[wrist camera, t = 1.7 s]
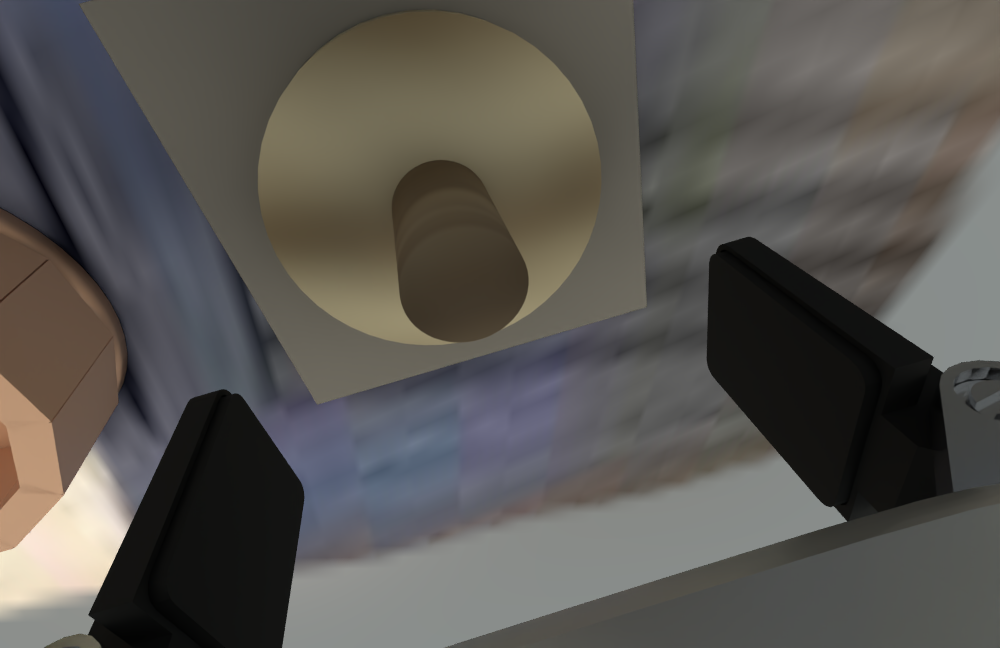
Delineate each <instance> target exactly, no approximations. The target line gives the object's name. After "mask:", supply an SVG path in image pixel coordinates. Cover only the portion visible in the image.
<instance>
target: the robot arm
mask: <svg viewBox="0 0 1000 648" xmlns="http://www.w3.org/2000/svg"><path fill="white" fill-rule="evenodd" d="M932 360H933V356H931V355H930V354H928V353H926V352H925V351H924V350H922V349H920V348H919V347H918V346H916V345H915V344H913V343H912V342H910V341H909V340H907V339H905V338H904V337H903V336H901V335H900V334H898V333H897V332H895V331H894V330H892V329H891V328H889V327H887V326H886V325H884V324H883V323H881V322H880V321H878V320H877V319H875V318H874V317H872V316H871V315H869V314H868V313H866V312H865V311H863V310H862V309H860V308H859V307H857V306H856V305H854V304H853V303H851V302H850V301H848V300H847V299H845V298H844V297H842V296H841V295H839V294H838V293H836V292H835V291H833V290H832V289H830V288H829V287H827V286H826V285H824V284H823V283H821V282H820V281H818V280H817V279H815V278H814V277H812V276H811V275H809V274H808V273H806V272H805V271H803V270H802V269H800V268H799V267H797V266H796V265H794V264H793V263H791V262H790V261H788V260H787V259H785V258H783V257H782V256H780V255H779V254H777V253H776V252H774V251H773V250H771V249H770V248H768V247H767V246H765V245H764V244H762V243H761V242H759V241H758V240H756V239H755V238H752V237H746V238H742V239H739V240H735V241H732V242H729V243H725V244H722V245H720V246H719V247H718V249H717V252H716V254H714V255H712V256H711V258H710V262H709V294H708V331H707V364H708V368H709V370H710V372H711V374H712V376H713V377H714V378H715V380H716V381H717V382H718V383H719V384H720V385H721V387H722V388H723V389H724V390H725V391H726V392H727V393H728V395H729V396H730V397H731V398H732V399H733V400H734V402H735V403H736V404H737V405H738V406H739V407H740V409H741V410H742V411H743V412H744V413H745V414H746V416H747V417H748V418H749V419H750V420H751V421H752V423H753V424H754V425H755V426H756V427H757V428H758V430H759V431H760V432H761V433H762V434H763V435H764V437H765V438H766V439H767V440H768V441H769V442H770V444H771V445H772V446H773V447H774V448H775V449H776V450H777V452H778V453H779V454H780V455H781V456H782V457H783V459H784V460H785V461H786V462H787V463H788V464H789V465H790V467H791V468H792V469H793V470H794V471H795V473H796V474H797V475H798V476H799V477H800V478H801V480H802V481H803V482H804V483H805V484H806V485H807V487H809V489H810V490H811V491H812V492H813V494H814V495H815V496H816V497H817V498H818V499H819V500H820V501H821V502H822V503H823V504H824V505H826V506H828V507H832V506H834V507H835V508H836V509H837V510H838V511H839V512H840V513H841V515H842V516H843V517H844V518H845V519H846V520H847V522H844V523H841V524H837V525H834V526H831V527H827V528H824V529H821V530H817V531H814V532H811V533H807V534H804V535H801V536H798V537H795V538H791V539H788V540H785V541H782V542H778V543H775V544H772V545H769V546H766V547H763V548H759V549H756V550H753V551H750V552H746V553H743V554H740V555H737V556H734V557H730V558H727V559H724V560H721V561H718V562H714V563H711V564H708V565H704V566H701V567H698V568H695V569H692V570H688V571H685V572H682V573H679V574H676V575H672V576H669V577H666V578H663V579H660V580H656V581H654V582H650V583H647V584H644V585H641V586H637V587H634V588H631V589H628V590H625V591H621V592H618V593H615V594H612V595H609V596H606V597H603V598H599V599H596V600H593V601H590V602H587V603H584V604H580V605H577V606H574V607H571V608H568V609H564V610H561V611H558V612H555V613H552V614H549V615H546V616H542V617H539V618H536V619H533V620H530V621H527V622H524V623H520V624H517V625H514V626H511V627H508V628H505V629H502V630H498V631H495V632H492V633H489V634H486V635H483V636H479V637H476V638H473V639H470V640H467V641H464V642H461V643H457V644H454V645H452V646H448V647H445V648H1000V362H999V361H980V360H978V361H970V362H962V363H959V364H957V365H954V366H952V367H949V368H948V369H947V370H946V371H945V372H944V373H943V372H941V371H940V370H938V369H937V368H935V367H934V366H933V365H931V364H932ZM303 505H304V490H303V487H302V484H301V482H300V480H299V479H298V477H297V476H296V474H295V473H294V471H293V470H292V468H291V467H290V466H289V464H288V463H287V461H286V460H285V458H284V457H283V455H282V454H281V452H280V451H279V450H278V448H277V447H276V445H275V444H274V442H273V441H272V439H271V438H270V436H269V435H268V434H267V432H266V431H265V429H264V428H263V426H262V425H261V423H260V422H259V420H258V419H257V418H256V416H255V415H254V413H253V412H252V410H251V409H250V407H249V406H248V404H247V403H246V402H245V400H244V399H243V398H242V396H241V395H239V394H231V393H230V392H229V391H227V390H223V389H222V390H218V391H215V392H211V393H208V394H204V395H201V396H198V397H194V398H192V399H190V401H189V402H188V403H187V405H186V408H185V410H184V412H183V414H182V416H181V418H180V420H179V423H178V425H177V427H176V429H175V431H174V433H173V435H172V437H171V440H170V442H169V444H168V446H167V448H166V450H165V452H164V455H163V457H162V459H161V461H160V463H159V465H158V467H157V469H156V472H155V474H154V476H153V478H152V480H151V482H150V484H149V487H148V489H147V491H146V493H145V495H144V497H143V499H142V501H141V504H140V506H139V508H138V510H137V512H136V514H135V516H134V519H133V521H132V523H131V525H130V527H129V529H128V531H127V534H126V536H125V538H124V540H123V542H122V544H121V546H120V548H119V551H118V553H117V555H116V557H115V559H114V561H113V563H112V566H111V568H110V570H109V572H108V574H107V576H106V578H105V580H104V583H103V585H102V587H101V589H100V591H99V593H98V595H97V598H96V600H95V602H94V604H93V606H92V608H91V610H90V613H89V616H90V617H92V618H93V619H94V620H95V621H94V623H93V625H92V627H91V629H90V632H89V634H88V635H84V634H77V635H72V636H68V637H64V638H62V639H60V640H58V641H56V642H54V643H52V644H50V645H48V646H46V647H44V648H282V644H283V637H284V631H285V624H286V617H287V610H288V604H289V598H290V591H291V584H292V578H293V571H294V564H295V558H296V551H297V545H298V538H299V531H300V525H301V518H302V511H303Z"/></svg>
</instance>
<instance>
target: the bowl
mask: <svg viewBox="0 0 1000 648" xmlns="http://www.w3.org/2000/svg"><path fill="white" fill-rule="evenodd" d="M126 370H127V347H126V341H125V336H124V333H123V330H122V327H121V324H120V321H119V319H118V317H117V315H116V313H115V311H114V309H113V307H112V305H111V303H110V302H109V300H108V299H107V297H106V296H105V295H104V293H103V292H102V290H101V289H100V287H99V286H98V285H97V283H96V282H95V281H94V280H93V279H92V278H91V277H90V276H89V274H88V273H87V272H86V271H85V270H84V269H83V268H82V267H81V266H80V265H79V264H78V263H77V262H76V261H75V260H74V259H73V258H72V257H71V256H69V255H68V254H67V253H66V252H65V251H64V250H63V249H62V248H61V247H59V246H58V245H57V244H55V243H54V242H53V241H51V240H50V239H49V238H47V237H46V236H44V235H43V234H42V233H40V232H39V231H38V230H36V229H35V228H33V227H31V226H30V225H28V224H27V223H25V222H23V221H22V220H20V219H19V218H17V217H15V216H14V215H12V214H10V213H8V212H7V211H5V210H3V209H1V208H0V552H3V551H6V550H9V549H13V548H14V547H16V546H17V545H18V544H19V543H20V542H21V541H22V540H23V538H24V537H25V536H26V535H27V534H28V533H29V532H30V531H31V530H32V529H33V528H34V527H35V526H36V524H37V523H38V522H39V521H40V520H41V519H42V518H43V517H44V516H45V515H46V514H47V513H48V512H49V510H50V509H51V508H52V507H53V506H54V505H55V504H56V503H57V502H58V501H59V500H60V499H61V498H62V496H63V495H64V494H65V492H66V490H67V489H68V487H69V485H70V484H71V482H72V480H73V478H74V477H75V475H76V473H77V472H78V470H79V468H80V467H81V465H82V463H83V462H84V460H85V458H86V457H87V455H88V453H89V452H90V450H91V448H92V446H93V445H94V443H95V441H96V440H97V438H98V436H99V435H100V433H101V431H102V430H103V428H104V426H105V425H106V423H107V421H108V420H109V418H110V416H111V414H112V413H113V411H114V409H115V408H116V406H117V404H118V393H119V391H120V389H121V387H122V385H123V383H124V378H125V374H126Z"/></svg>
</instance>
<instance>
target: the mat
mask: <svg viewBox="0 0 1000 648" xmlns="http://www.w3.org/2000/svg"><path fill="white" fill-rule="evenodd" d="M79 5H80V7H81V9H82V10H83V12H84V14H85V15H86V17H87V19H88V20H89V22H90V24H91V26H92V27H93V29H94V31H95V32H96V34H97V36H98V37H99V39H100V41H101V42H102V44H103V46H104V47H105V49H106V51H107V52H108V54H109V56H110V57H111V59H112V61H113V62H114V64H115V66H116V67H117V69H118V71H119V73H120V74H121V76H122V78H123V79H124V81H125V83H126V84H127V86H128V88H129V89H130V91H131V93H132V94H133V96H134V98H135V99H136V101H137V103H138V104H139V106H140V108H141V109H142V111H143V113H144V115H145V116H146V118H147V120H148V121H149V123H150V125H151V126H152V128H153V130H154V131H155V133H156V135H157V136H158V138H159V140H160V141H161V143H162V145H163V146H164V148H165V150H166V151H167V153H168V155H169V156H170V158H171V160H172V162H173V163H174V165H175V167H176V168H177V170H178V172H179V173H180V175H181V177H182V178H183V180H184V182H185V183H186V185H187V187H188V188H189V190H190V192H191V193H192V195H193V197H194V198H195V200H196V202H197V203H198V205H199V207H200V209H201V210H202V212H203V214H204V215H205V217H206V219H207V220H208V222H209V224H210V225H211V227H212V229H213V230H214V232H215V234H216V235H217V237H218V239H219V240H220V242H221V244H222V245H223V247H224V249H225V251H226V252H227V254H228V256H229V257H230V259H231V261H232V262H233V264H234V266H235V267H236V269H237V271H238V272H239V274H240V276H241V277H242V279H243V281H244V282H245V284H246V286H247V287H248V289H249V291H250V292H251V294H252V296H253V298H254V299H255V301H256V303H257V304H258V306H259V308H260V309H261V311H262V313H263V314H264V316H265V318H266V319H267V321H268V323H269V324H270V326H271V328H272V329H273V331H274V333H275V334H276V336H277V338H278V340H279V341H280V343H281V345H282V346H283V348H284V350H285V351H286V353H287V355H288V356H289V358H290V360H291V361H292V363H293V365H294V366H295V368H296V370H297V371H298V373H299V375H300V376H301V378H302V380H303V381H304V383H305V385H306V387H307V388H308V390H309V392H310V393H311V395H312V397H313V398H314V400H315V402H316V403H317V404H321V403H324V402H328V401H331V400H334V399H338V398H341V397H344V396H348V395H351V394H355V393H358V392H361V391H365V390H368V389H371V388H375V387H378V386H382V385H385V384H388V383H392V382H395V381H398V380H402V379H405V378H409V377H412V376H415V375H419V374H422V373H425V372H429V371H432V370H436V369H439V368H442V367H446V366H449V365H452V364H456V363H459V362H463V361H466V360H469V359H473V358H476V357H479V356H483V355H486V354H490V353H493V352H496V351H500V350H503V349H506V348H510V347H513V346H517V345H520V344H523V343H527V342H530V341H534V340H537V339H540V338H544V337H547V336H550V335H554V334H557V333H561V332H564V331H567V330H571V329H574V328H577V327H581V326H584V325H588V324H591V323H594V322H598V321H601V320H604V319H608V318H611V317H615V316H618V315H621V314H625V313H628V312H631V311H635V310H638V309H642V308H645V307H647V301H646V278H645V256H644V233H643V211H642V188H641V166H640V143H639V121H638V98H637V76H636V53H635V31H634V8H633V0H92V1H88V2H84V3H80V4H79ZM407 10H441V11H449V12H458V13H462V14H465V15H469V16H472V17H476V18H480V19H483V20H485V21H488V22H490V23H492V24H494V25H497V26H499V27H501V28H503V29H506V30H508V31H510V32H512V33H514V34H516V35H517V36H519V37H521V38H522V39H524V40H525V41H527V42H528V43H530V44H532V45H533V46H535V47H536V48H537V49H538V50H539V51H541V52H542V53H543V54H544V55H545V56H546V57H547V58H549V59H550V60H551V61H552V62H553V63H554V64H555V65H556V66H557V67H558V69H559V70H560V71H561V72H562V73H563V74H564V75H565V77H566V78H567V79H568V80H569V81H570V83H571V85H572V86H573V88H574V89H575V91H576V92H577V94H578V95H579V97H580V99H581V100H582V102H583V104H584V107H585V109H586V111H587V113H588V115H589V117H590V120H591V122H592V125H593V129H594V132H595V135H596V139H597V142H598V148H599V155H600V161H601V193H600V204H599V208H598V213H597V217H596V221H595V225H594V228H593V231H592V233H591V236H590V239H589V242H588V244H587V246H586V248H585V250H584V252H583V254H582V256H581V258H580V260H579V261H578V263H577V264H576V266H575V267H574V269H573V270H572V272H571V273H570V275H569V276H568V277H567V279H566V280H565V281H564V282H563V283H562V285H561V286H560V287H559V288H558V290H557V291H555V292H554V293H553V294H552V295H551V296H550V297H549V298H548V299H547V300H546V301H545V302H544V303H543V304H542V305H540V306H539V307H538V308H536V309H535V310H534V311H533V312H531V313H530V314H529V315H527V316H525V317H524V318H522V319H520V320H519V321H517V322H516V323H514V324H512V325H510V326H508V327H506V328H504V329H502V330H500V331H498V332H496V333H495V334H493V335H491V336H488V337H486V338H483V339H480V340H476V341H471V342H460V343H452V344H445V345H415V344H404V343H399V342H394V341H388V340H384V339H381V338H378V337H375V336H371V335H368V334H366V333H363V332H361V331H359V330H356V329H354V328H352V327H350V326H348V325H346V324H344V323H343V322H341V321H339V320H337V319H336V318H334V317H332V316H331V315H330V314H328V313H327V312H326V311H324V310H323V309H322V308H320V307H319V306H318V305H316V304H315V303H314V302H313V301H312V300H311V299H310V298H309V297H308V296H307V295H306V294H305V293H304V292H303V291H302V290H301V289H300V288H299V287H298V286H297V284H296V283H295V282H294V281H293V279H292V278H291V277H290V276H289V275H288V273H287V271H286V270H285V268H284V267H283V265H282V263H281V262H280V260H279V259H278V257H277V255H276V253H275V251H274V249H273V246H272V244H271V242H270V240H269V238H268V235H267V232H266V228H265V225H264V221H263V218H262V215H261V208H260V202H259V195H258V164H259V158H260V151H261V144H262V141H263V137H264V134H265V131H266V128H267V124H268V121H269V119H270V117H271V115H272V112H273V110H274V108H275V106H276V104H277V102H278V100H279V98H280V96H281V95H282V93H283V92H284V91H285V89H286V88H287V86H288V85H289V83H290V82H291V81H292V79H293V78H294V76H295V75H296V73H297V72H298V71H299V69H300V68H301V67H302V66H303V65H304V64H305V63H306V62H307V61H308V60H309V59H310V58H311V57H312V56H313V54H314V53H315V52H316V51H317V50H319V49H320V48H321V47H323V46H324V45H325V44H327V43H328V42H329V41H330V40H332V39H333V38H334V37H336V36H337V35H339V34H341V33H343V32H344V31H346V30H348V29H350V28H352V27H354V26H356V25H357V24H359V23H362V22H365V21H368V20H370V19H373V18H376V17H379V16H382V15H386V14H391V13H397V12H402V11H407Z"/></svg>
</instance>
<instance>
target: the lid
mask: <svg viewBox="0 0 1000 648" xmlns="http://www.w3.org/2000/svg"><path fill="white" fill-rule="evenodd" d="M600 193H601V161H600V155H599V148H598V142H597V139H596V135H595V132H594V129H593V125H592V122H591V120H590V117H589V115H588V113H587V111H586V109H585V107H584V104H583V102H582V100H581V99H580V97H579V95H578V94H577V92H576V91H575V89H574V88H573V86H572V85H571V83H570V81H569V80H568V79H567V78H566V77H565V75H564V74H563V73H562V72H561V71H560V70H559V69H558V67H557V66H556V65H555V64H554V63H553V62H552V61H551V60H550V59H549V58H547V57H546V56H545V55H544V54H543V53H542V52H541V51H539V50H538V49H537V48H536V47H535V46H533V45H532V44H530V43H528V42H527V41H525V40H524V39H522V38H521V37H519V36H517V35H516V34H514V33H512V32H510V31H508V30H506V29H503V28H501V27H499V26H497V25H494V24H492V23H490V22H488V21H485V20H483V19H480V18H476V17H472V16H469V15H465V14H462V13H458V12H449V11H441V10H407V11H402V12H397V13H391V14H386V15H382V16H379V17H376V18H373V19H370V20H368V21H365V22H362V23H359V24H357V25H356V26H354V27H352V28H350V29H348V30H346V31H344V32H343V33H341V34H339V35H337V36H336V37H334V38H333V39H332V40H330V41H329V42H328V43H327V44H325V45H324V46H323V47H321V48H320V49H319V50H317V51H316V52H315V53H314V54H313V56H312V57H311V58H310V59H309V60H308V61H307V62H306V63H305V64H304V65H303V66H302V67H301V68H300V69H299V71H298V72H297V73H296V75H295V76H294V78H293V79H292V81H291V82H290V83H289V85H288V86H287V88H286V89H285V91H284V92H283V93H282V95H281V96H280V98H279V100H278V102H277V104H276V106H275V108H274V110H273V112H272V115H271V117H270V119H269V121H268V124H267V128H266V131H265V134H264V137H263V141H262V144H261V151H260V158H259V164H258V195H259V202H260V208H261V215H262V218H263V221H264V225H265V228H266V232H267V235H268V238H269V240H270V242H271V244H272V246H273V249H274V251H275V253H276V255H277V257H278V259H279V260H280V262H281V263H282V265H283V267H284V268H285V270H286V271H287V273H288V275H289V276H290V277H291V278H292V279H293V281H294V282H295V283H296V284H297V286H298V287H299V288H300V289H301V290H302V291H303V292H304V293H305V294H306V295H307V296H308V297H309V298H310V299H311V300H312V301H313V302H314V303H315V304H316V305H318V306H319V307H320V308H322V309H323V310H324V311H326V312H327V313H328V314H330V315H331V316H332V317H334V318H336V319H337V320H339V321H341V322H343V323H344V324H346V325H348V326H350V327H352V328H354V329H356V330H359V331H361V332H363V333H366V334H368V335H371V336H375V337H378V338H381V339H384V340H388V341H394V342H399V343H404V344H415V345H445V344H452V343H460V342H471V341H476V340H480V339H483V338H486V337H488V336H491V335H493V334H495V333H496V332H498V331H500V330H502V329H504V328H506V327H508V326H510V325H512V324H514V323H516V322H517V321H519V320H520V319H522V318H524V317H525V316H527V315H529V314H530V313H531V312H533V311H534V310H535V309H536V308H538V307H539V306H540V305H542V304H543V303H544V302H545V301H546V300H547V299H548V298H549V297H550V296H551V295H552V294H553V293H554V292H555V291H557V290H558V288H559V287H560V286H561V285H562V283H563V282H564V281H565V280H566V279H567V277H568V276H569V275H570V273H571V272H572V270H573V269H574V267H575V266H576V264H577V263H578V261H579V260H580V258H581V256H582V254H583V252H584V250H585V248H586V246H587V244H588V242H589V239H590V236H591V233H592V231H593V228H594V225H595V221H596V217H597V213H598V208H599V204H600Z"/></svg>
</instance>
